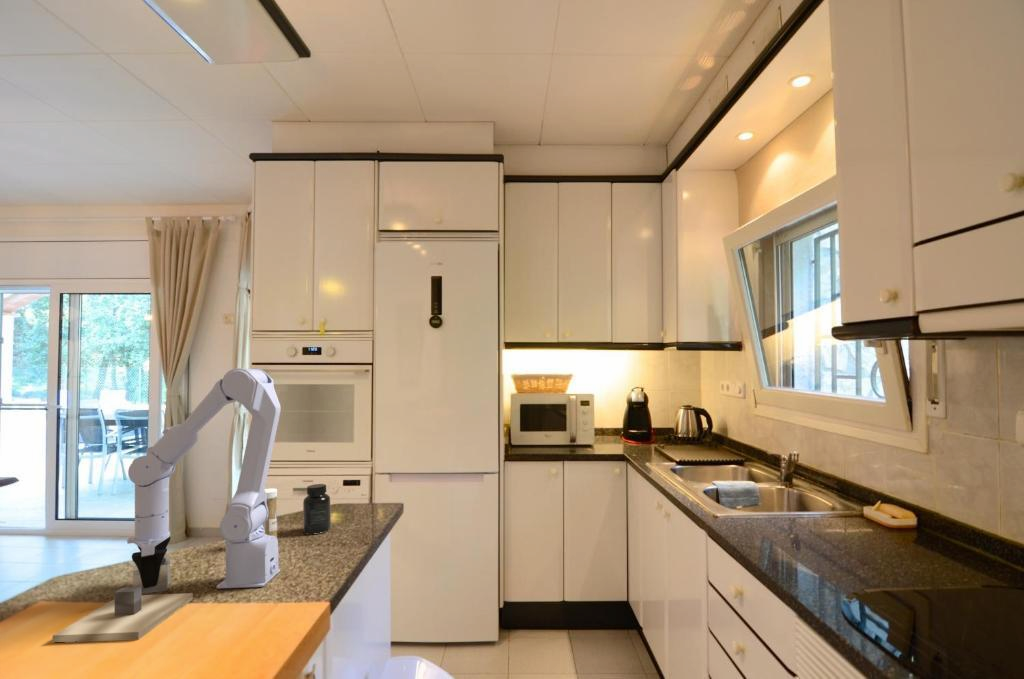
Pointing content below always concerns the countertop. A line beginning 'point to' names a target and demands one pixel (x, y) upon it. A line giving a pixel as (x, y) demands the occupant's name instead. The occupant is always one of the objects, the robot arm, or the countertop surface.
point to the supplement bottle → (316, 509)
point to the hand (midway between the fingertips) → (152, 581)
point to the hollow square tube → (162, 580)
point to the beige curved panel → (124, 617)
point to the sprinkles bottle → (271, 513)
